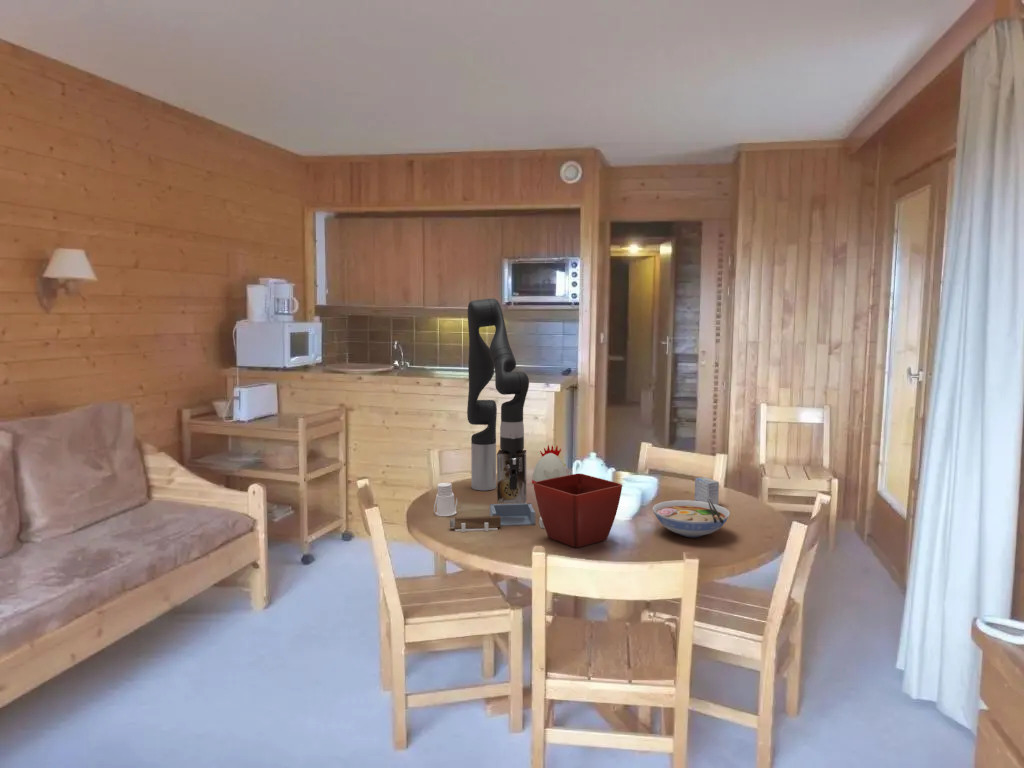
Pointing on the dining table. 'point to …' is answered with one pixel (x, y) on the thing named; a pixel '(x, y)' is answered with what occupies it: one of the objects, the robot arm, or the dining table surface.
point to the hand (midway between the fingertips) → (511, 486)
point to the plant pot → (577, 508)
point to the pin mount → (488, 528)
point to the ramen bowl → (691, 517)
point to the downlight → (445, 500)
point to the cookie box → (504, 480)
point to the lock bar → (476, 522)
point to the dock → (514, 514)
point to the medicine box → (706, 490)
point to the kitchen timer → (549, 466)
